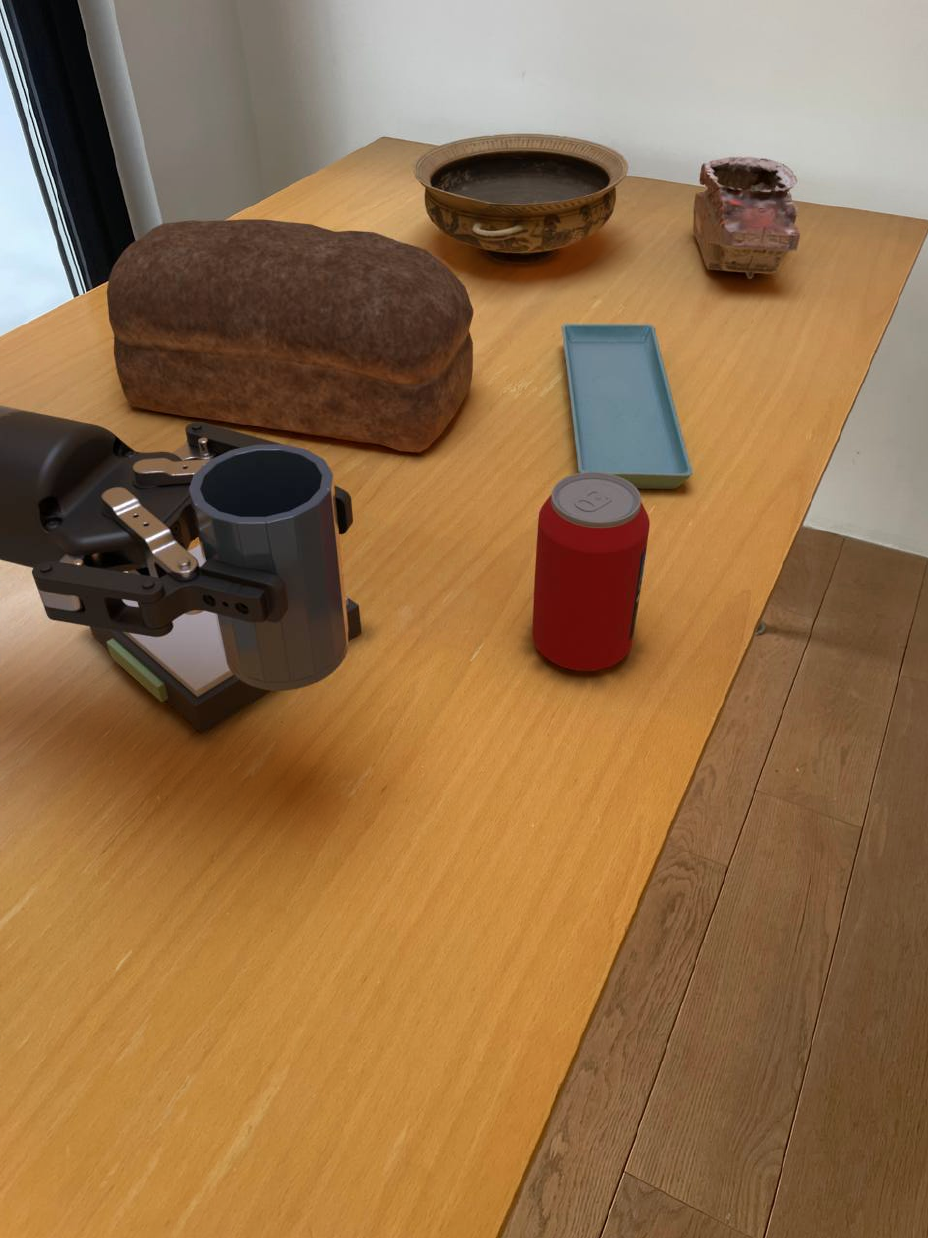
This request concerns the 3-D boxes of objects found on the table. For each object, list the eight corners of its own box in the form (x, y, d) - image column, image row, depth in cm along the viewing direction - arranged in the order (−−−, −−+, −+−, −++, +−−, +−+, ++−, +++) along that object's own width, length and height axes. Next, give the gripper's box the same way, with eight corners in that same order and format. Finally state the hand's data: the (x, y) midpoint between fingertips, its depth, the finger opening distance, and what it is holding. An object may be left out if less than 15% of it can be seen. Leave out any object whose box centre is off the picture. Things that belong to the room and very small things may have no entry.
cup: (276, 710, 48) (246, 541, 41) (200, 647, 51) (161, 481, 44) (373, 646, 51) (361, 481, 44) (297, 591, 54) (274, 429, 48)
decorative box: (799, 237, 123) (817, 153, 116) (816, 307, 108) (838, 214, 101) (689, 231, 124) (701, 148, 118) (691, 299, 109) (705, 208, 103)
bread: (439, 466, 84) (435, 282, 74) (105, 410, 92) (59, 235, 81) (487, 385, 95) (490, 214, 84) (184, 340, 102) (152, 177, 92)
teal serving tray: (690, 496, 81) (695, 469, 79) (576, 495, 81) (579, 469, 80) (651, 347, 101) (654, 323, 99) (559, 346, 101) (561, 323, 99)
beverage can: (652, 645, 68) (676, 497, 60) (585, 695, 64) (602, 544, 56) (577, 598, 71) (590, 453, 64) (510, 643, 68) (515, 494, 60)
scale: (195, 738, 62) (186, 703, 60) (85, 639, 68) (73, 604, 66) (361, 632, 69) (358, 598, 67) (247, 551, 76) (241, 518, 74)
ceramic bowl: (451, 200, 133) (450, 118, 126) (633, 215, 128) (642, 131, 122) (383, 293, 111) (377, 199, 104) (599, 315, 106) (608, 219, 100)
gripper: (-123, 501, 43) (228, 586, 39) (81, 352, 53) (375, 407, 49) (-62, 632, 48) (254, 720, 44) (113, 473, 58) (383, 532, 54)
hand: (317, 554), depth 46 cm, fingers closed on cup, 6 cm apart
